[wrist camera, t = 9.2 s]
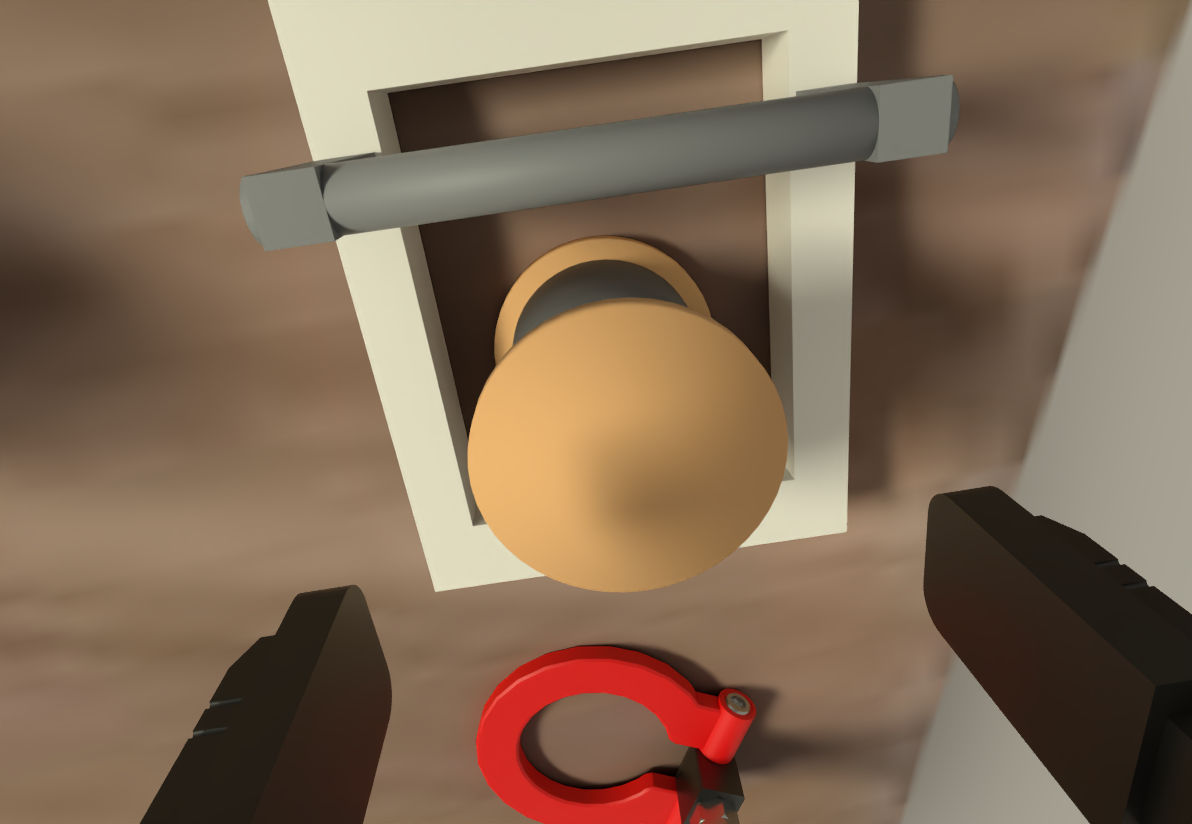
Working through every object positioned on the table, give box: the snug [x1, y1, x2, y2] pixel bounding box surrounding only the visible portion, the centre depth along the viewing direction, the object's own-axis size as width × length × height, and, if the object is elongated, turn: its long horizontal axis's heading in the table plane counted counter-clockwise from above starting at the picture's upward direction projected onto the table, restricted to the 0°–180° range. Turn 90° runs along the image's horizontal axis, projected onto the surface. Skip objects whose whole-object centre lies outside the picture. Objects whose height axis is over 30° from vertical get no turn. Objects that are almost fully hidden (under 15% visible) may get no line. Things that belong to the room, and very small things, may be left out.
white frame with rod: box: [240, 0, 959, 592], centre depth 16 cm, size 15×12×6 cm
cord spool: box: [468, 236, 788, 592], centre depth 16 cm, size 6×6×7 cm
